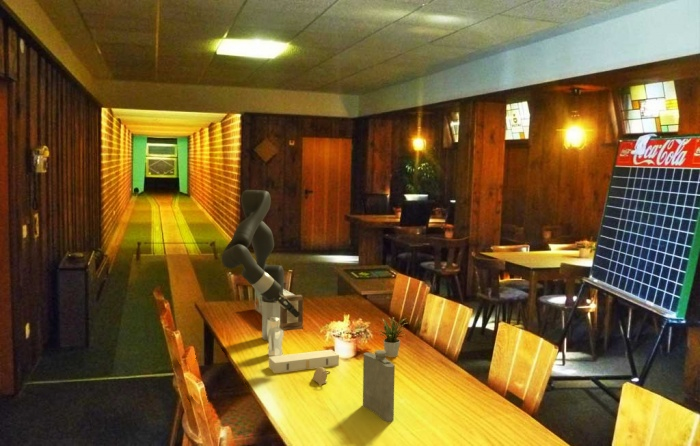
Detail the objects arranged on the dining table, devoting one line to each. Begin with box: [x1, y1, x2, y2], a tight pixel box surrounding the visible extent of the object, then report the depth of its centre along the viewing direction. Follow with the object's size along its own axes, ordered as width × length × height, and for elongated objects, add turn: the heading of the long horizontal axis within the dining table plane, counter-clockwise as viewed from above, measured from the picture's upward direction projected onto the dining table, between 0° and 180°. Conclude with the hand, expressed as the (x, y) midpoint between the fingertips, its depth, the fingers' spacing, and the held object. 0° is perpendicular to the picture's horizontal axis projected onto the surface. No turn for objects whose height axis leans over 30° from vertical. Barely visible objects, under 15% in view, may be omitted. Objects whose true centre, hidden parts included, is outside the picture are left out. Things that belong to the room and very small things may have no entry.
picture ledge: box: [268, 349, 340, 374], centre depth 247 cm, size 26×8×4 cm, turn 114°
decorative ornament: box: [311, 367, 331, 386], centre depth 229 cm, size 4×8×5 cm, turn 29°
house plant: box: [378, 316, 408, 358], centre depth 262 cm, size 14×14×16 cm
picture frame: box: [279, 294, 304, 332], centre depth 243 cm, size 8×5×12 cm, turn 113°
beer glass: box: [267, 317, 285, 357], centre depth 261 cm, size 7×7×15 cm
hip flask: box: [362, 349, 396, 423], centre depth 202 cm, size 16×4×20 cm, turn 29°
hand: (296, 314), depth 244 cm, fingers closed on picture frame, 3 cm apart
